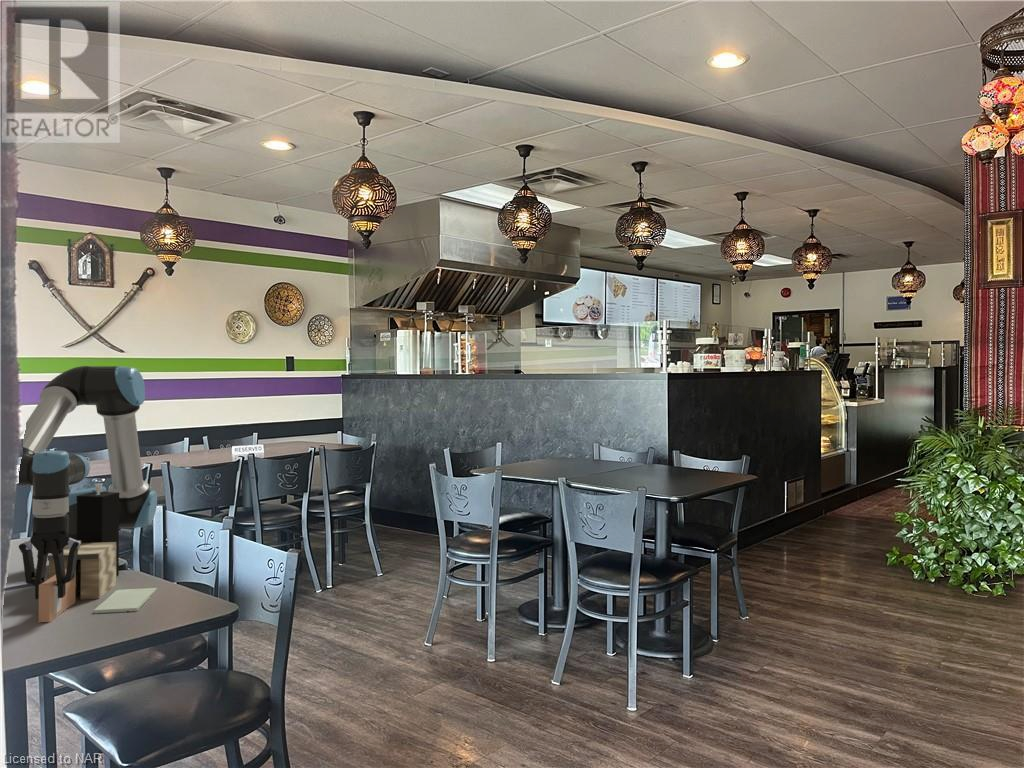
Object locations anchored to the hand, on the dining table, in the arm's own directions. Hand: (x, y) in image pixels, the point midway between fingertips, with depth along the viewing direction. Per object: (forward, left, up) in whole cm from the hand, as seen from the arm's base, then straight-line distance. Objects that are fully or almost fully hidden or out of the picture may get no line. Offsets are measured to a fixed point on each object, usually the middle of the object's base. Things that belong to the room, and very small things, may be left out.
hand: (50, 611), depth 177 cm
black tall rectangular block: (-36, -1, -2) cm, 36 cm away
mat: (-11, +14, -2) cm, 18 cm away
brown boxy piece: (-22, 0, -2) cm, 22 cm away
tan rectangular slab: (-5, 0, -2) cm, 5 cm away
